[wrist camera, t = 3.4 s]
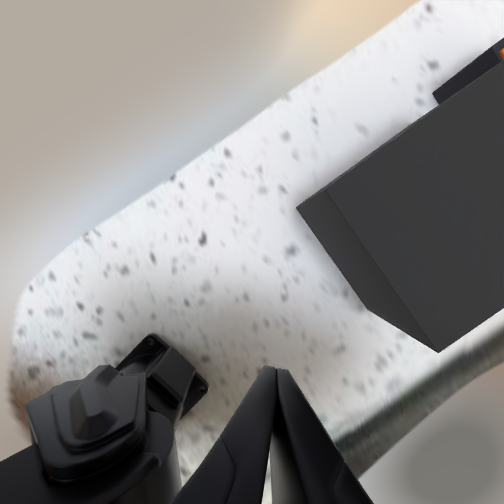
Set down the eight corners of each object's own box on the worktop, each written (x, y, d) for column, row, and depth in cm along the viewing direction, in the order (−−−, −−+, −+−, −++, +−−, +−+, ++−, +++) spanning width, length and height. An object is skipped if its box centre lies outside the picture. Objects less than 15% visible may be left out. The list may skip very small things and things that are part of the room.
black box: (367, 309, 21) (438, 353, 13) (295, 207, 21) (324, 189, 13) (482, 229, 21) (624, 224, 13) (412, 123, 20) (516, 51, 12)
